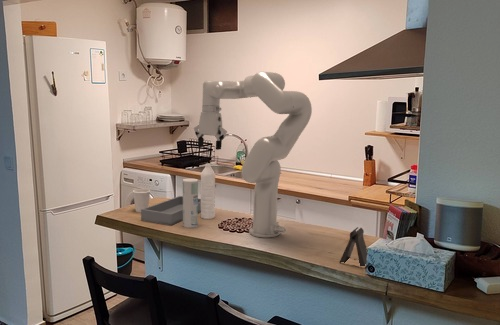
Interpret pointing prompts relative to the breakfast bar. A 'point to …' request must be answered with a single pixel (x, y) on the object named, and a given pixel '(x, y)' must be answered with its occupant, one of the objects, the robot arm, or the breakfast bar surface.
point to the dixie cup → (141, 198)
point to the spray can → (190, 203)
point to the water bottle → (208, 192)
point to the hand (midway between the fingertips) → (209, 148)
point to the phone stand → (360, 244)
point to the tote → (166, 211)
